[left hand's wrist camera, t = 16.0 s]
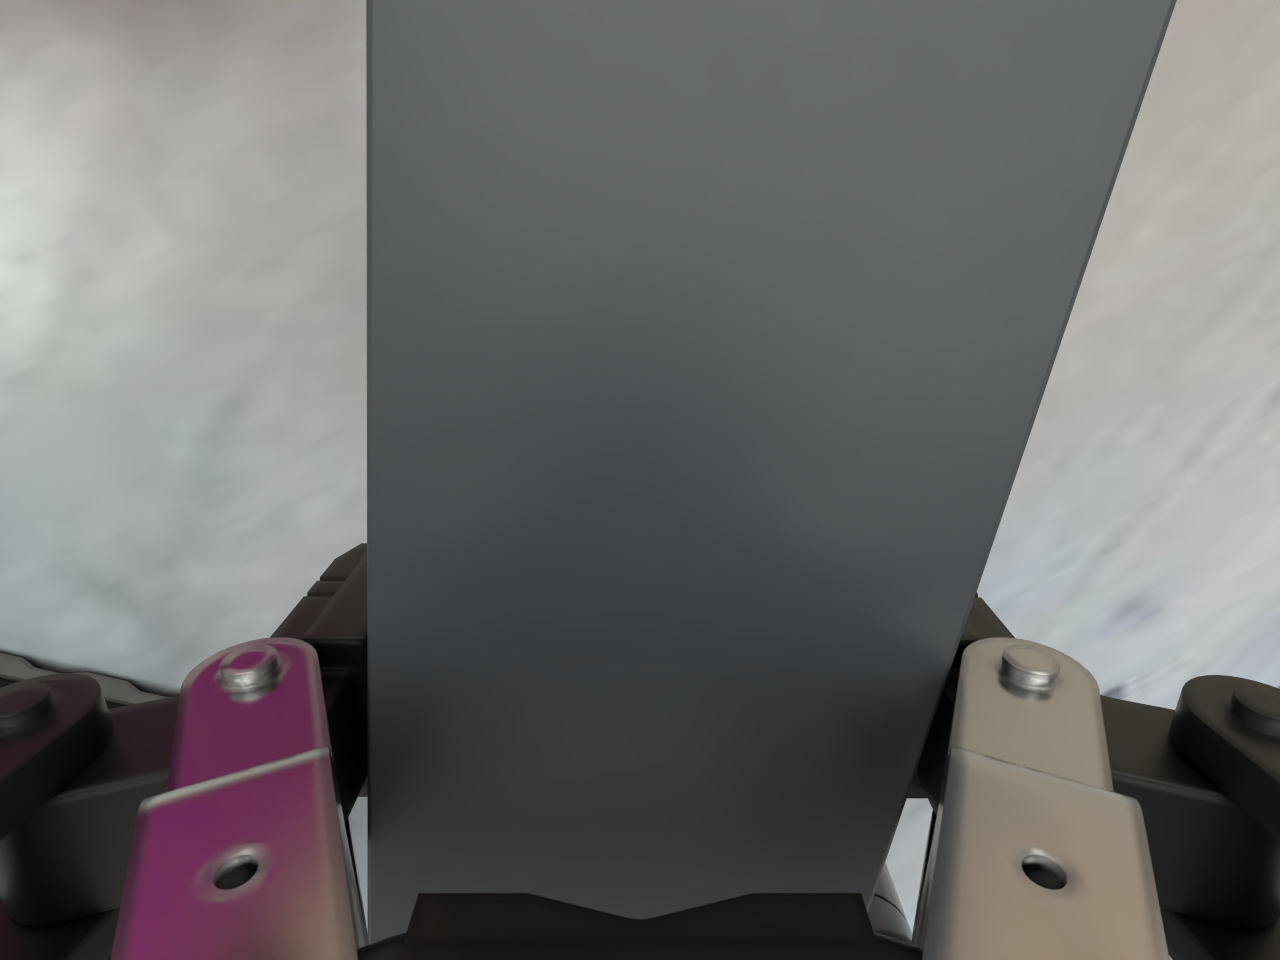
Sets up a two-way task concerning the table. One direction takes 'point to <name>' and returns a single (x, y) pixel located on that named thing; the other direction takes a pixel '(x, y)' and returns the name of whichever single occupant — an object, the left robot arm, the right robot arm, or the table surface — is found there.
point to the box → (700, 416)
